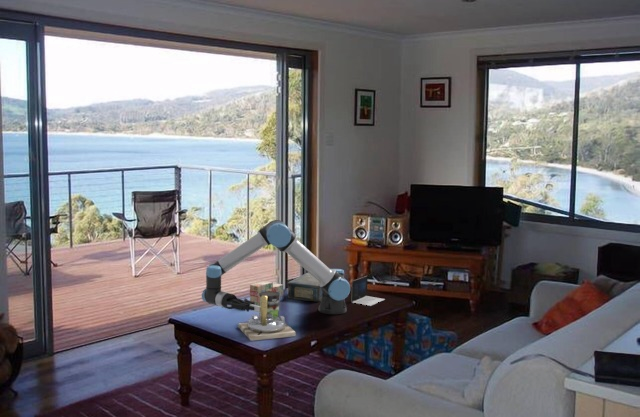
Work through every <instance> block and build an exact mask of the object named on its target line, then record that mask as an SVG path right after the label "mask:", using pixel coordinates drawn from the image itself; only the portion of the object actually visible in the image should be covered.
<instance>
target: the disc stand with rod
mask: <svg viewBox="0 0 640 417" xmlns="http://www.w3.org/2000/svg"><path fill="white" fill-rule="evenodd" d="M247 323H248V329H249V330H251V331H254V332H259V333H274V332H279V331H282V330H284V329H285V323H286V320H285V316H284V315H279V317H275V316H273V313H268V314H267V296H266V295H262V296H261V316H259V315H258V314H252V315H251V318H249V319H248V320H247Z"/></svg>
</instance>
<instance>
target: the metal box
mask: <svg viewBox="0 0 640 417" xmlns="http://www.w3.org/2000/svg"><path fill="white" fill-rule="evenodd" d="M286 283H287V284H286V285H287V298H288V299H290V300H291V299H292V300H300V301H309V302H319V303H320V301H321V299H322V288H321V287H320V283H319V281H318V280H317V279H316V278H314V277H313V276H312V275H311V274H310V273H309V272H308V271H307V272H306V273H304V274H302V275H300V276H298V277H296V278H294V279H293V280H292V279H291V280H289V281H288V282H286Z"/></svg>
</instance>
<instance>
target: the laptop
mask: <svg viewBox="0 0 640 417" xmlns="http://www.w3.org/2000/svg"><path fill="white" fill-rule="evenodd" d="M385 300H386V299H385V298H380V297H376V296H375V297H374V296H369V295H368V275H364V276H362V277H358V278H357V279H353V280H352V281H351V298H350V301H351V304H354V303H356V304H357V305H360V304H362V305H361V306H366V305H367V306H368V307H372V306H374V305H376V304H378V302H379V303H380V302H383V301H385ZM367 306H366V307H367Z"/></svg>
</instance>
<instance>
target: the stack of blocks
mask: <svg viewBox="0 0 640 417" xmlns="http://www.w3.org/2000/svg"><path fill="white" fill-rule="evenodd" d="M265 291H273V292H278V293H279V302H281V301H284V284H281V283H274V282H272V281H267V280H263V281H258V282H256V283H251V284H250V285H249V301H252V302H254V303H255V305H257V306H259V301H260V295H259V293H261V292H265Z"/></svg>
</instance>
